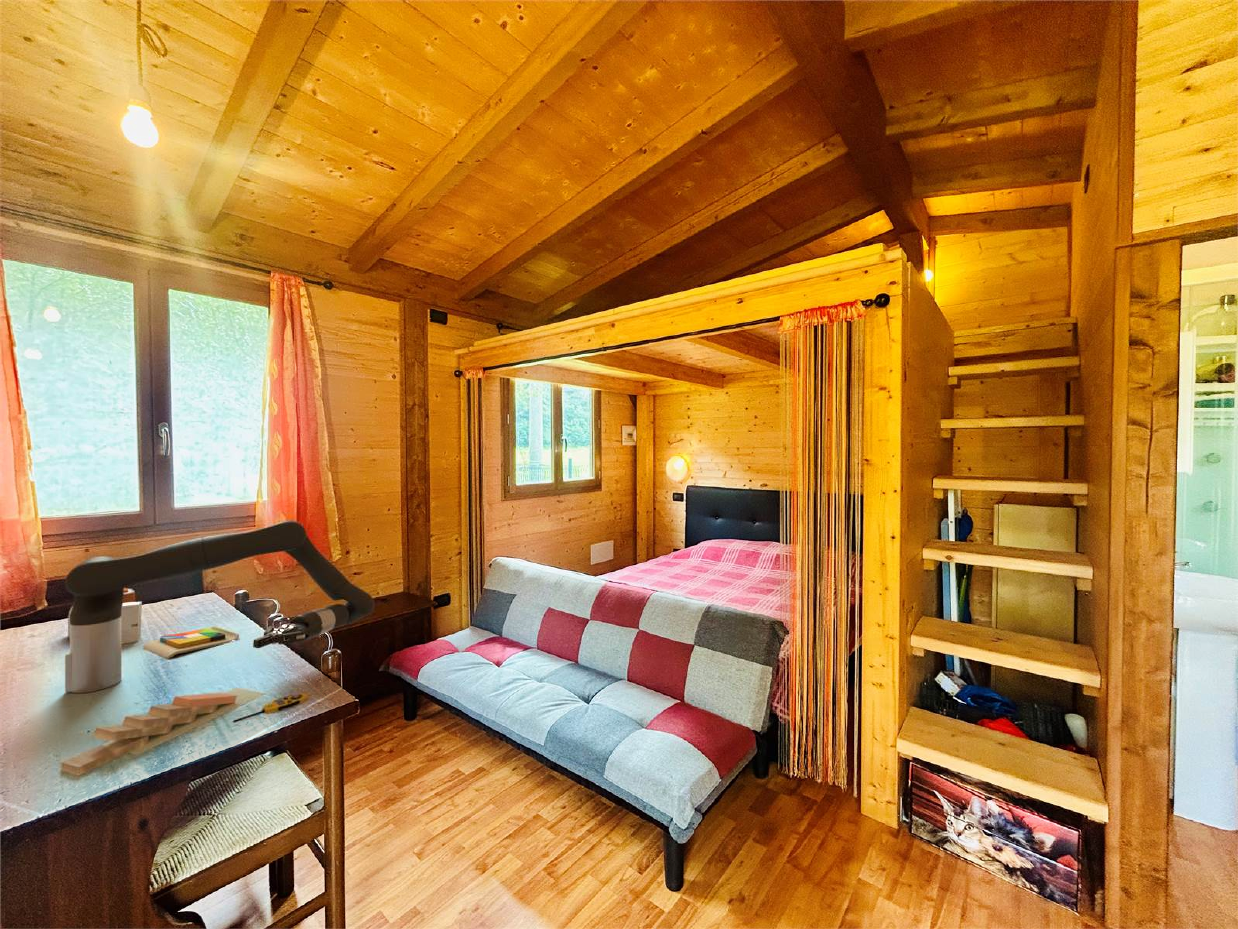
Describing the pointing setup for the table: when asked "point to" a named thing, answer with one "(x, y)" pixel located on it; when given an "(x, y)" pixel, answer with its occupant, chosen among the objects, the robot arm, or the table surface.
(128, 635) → the skincare box
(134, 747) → the domino
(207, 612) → the table surface
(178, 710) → the domino
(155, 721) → the domino
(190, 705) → the domino
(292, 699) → the yellow screwdriver
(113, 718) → the table surface
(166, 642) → the wooden puzzle
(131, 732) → the domino
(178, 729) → the mat
